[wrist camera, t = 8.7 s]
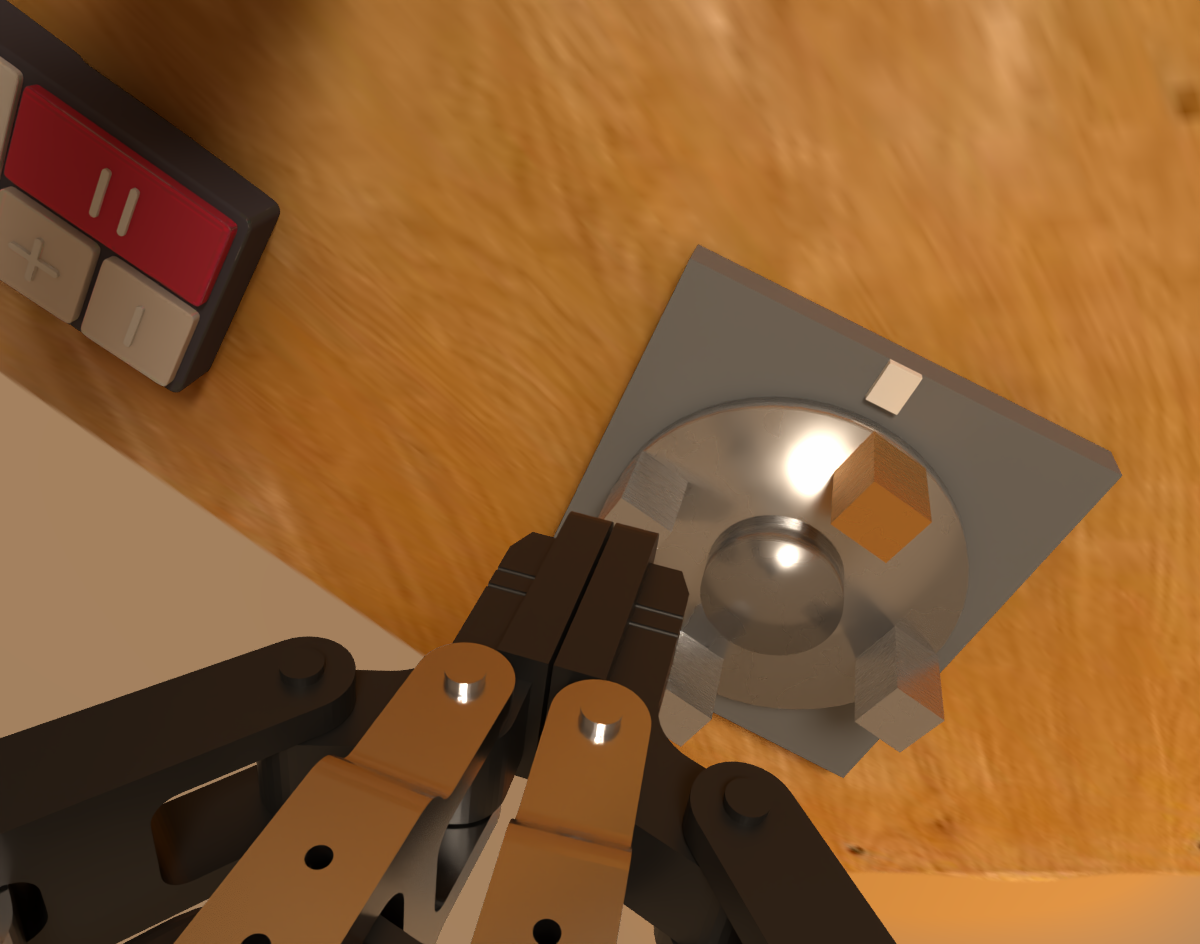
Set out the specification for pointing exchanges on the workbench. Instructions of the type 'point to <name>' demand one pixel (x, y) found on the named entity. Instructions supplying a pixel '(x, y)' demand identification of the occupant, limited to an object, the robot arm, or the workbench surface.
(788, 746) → the base plate
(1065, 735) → the workbench surface
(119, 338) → the calculator
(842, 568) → the lugged metal dish
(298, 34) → the workbench surface
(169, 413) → the workbench surface
